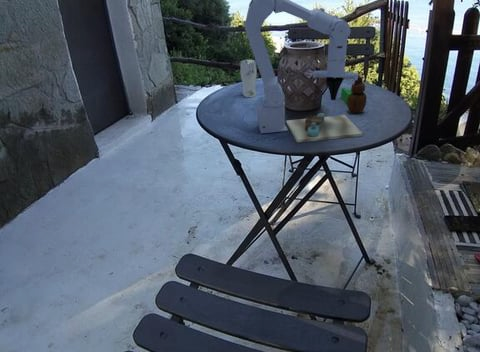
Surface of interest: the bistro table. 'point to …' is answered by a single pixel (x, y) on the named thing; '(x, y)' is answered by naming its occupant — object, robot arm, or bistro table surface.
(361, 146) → the bistro table surface
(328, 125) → the birch plate
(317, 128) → the teal link
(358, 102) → the wooden figurine
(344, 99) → the green block
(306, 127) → the walnut keeper
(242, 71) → the beer glass
